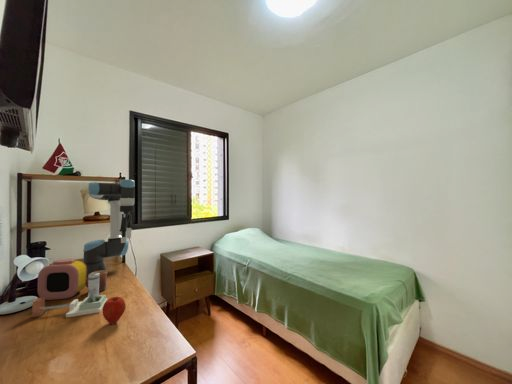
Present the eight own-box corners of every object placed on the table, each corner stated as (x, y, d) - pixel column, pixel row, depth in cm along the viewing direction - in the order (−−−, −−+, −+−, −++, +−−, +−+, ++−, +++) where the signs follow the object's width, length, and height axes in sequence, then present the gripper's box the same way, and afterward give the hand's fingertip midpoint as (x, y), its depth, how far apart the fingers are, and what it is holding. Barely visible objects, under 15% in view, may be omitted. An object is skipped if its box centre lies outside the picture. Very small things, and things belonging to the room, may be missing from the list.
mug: (99, 286, 130) (99, 269, 130) (111, 288, 128) (111, 270, 128) (79, 295, 118) (79, 276, 118) (92, 297, 116) (92, 278, 117)
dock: (99, 312, 101) (100, 303, 101) (65, 317, 97) (65, 308, 97) (107, 300, 113) (107, 292, 113) (77, 305, 108) (77, 296, 108)
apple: (129, 318, 96) (130, 294, 96) (113, 330, 88) (113, 303, 88) (114, 316, 98) (115, 292, 99) (96, 326, 90) (97, 301, 90)
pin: (75, 310, 101) (75, 296, 102) (32, 317, 96) (32, 301, 96) (78, 307, 105) (78, 292, 105) (36, 313, 99) (37, 298, 99)
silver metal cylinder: (89, 303, 107) (90, 273, 107) (100, 301, 108) (100, 272, 109) (85, 307, 103) (86, 276, 103) (97, 306, 104) (97, 275, 105)
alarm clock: (35, 302, 111) (36, 264, 111) (50, 292, 121) (52, 258, 122) (76, 298, 114) (77, 262, 115) (87, 290, 125) (88, 256, 126)
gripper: (124, 204, 139) (123, 237, 139) (114, 206, 116) (113, 245, 115) (137, 204, 142) (136, 236, 141) (130, 205, 118) (129, 244, 118)
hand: (126, 240), depth 128 cm, fingers open, 13 cm apart
